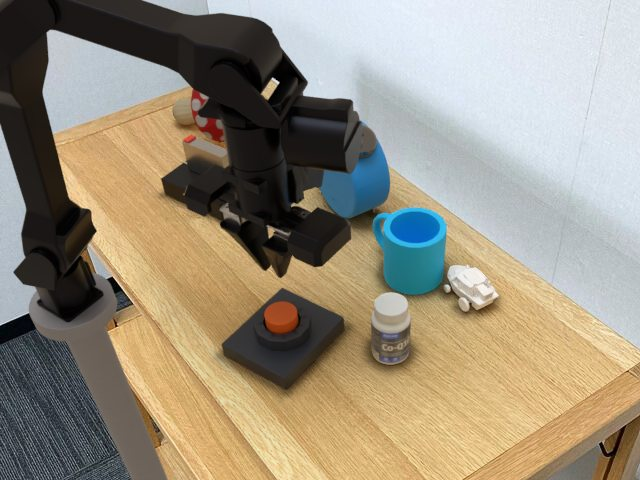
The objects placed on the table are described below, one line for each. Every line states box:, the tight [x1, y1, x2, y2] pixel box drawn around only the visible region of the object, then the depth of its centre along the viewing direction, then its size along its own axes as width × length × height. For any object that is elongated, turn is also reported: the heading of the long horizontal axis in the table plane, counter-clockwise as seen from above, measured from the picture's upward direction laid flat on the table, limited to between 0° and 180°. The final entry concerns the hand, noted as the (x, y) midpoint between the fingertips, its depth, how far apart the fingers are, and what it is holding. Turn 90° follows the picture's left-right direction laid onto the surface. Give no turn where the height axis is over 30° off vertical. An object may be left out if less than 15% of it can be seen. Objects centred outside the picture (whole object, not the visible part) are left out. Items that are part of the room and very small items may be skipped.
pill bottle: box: [370, 291, 412, 366], centre depth 91 cm, size 5×5×8 cm
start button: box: [264, 301, 298, 334], centre depth 92 cm, size 4×4×2 cm
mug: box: [371, 206, 448, 296], centre depth 101 cm, size 12×8×8 cm
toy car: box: [443, 264, 500, 313], centre depth 98 cm, size 5×8×4 cm, turn 31°
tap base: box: [160, 160, 224, 221], centre depth 116 cm, size 12×12×3 cm
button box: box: [221, 287, 346, 391], centre depth 94 cm, size 12×10×4 cm
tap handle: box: [181, 134, 229, 175], centre depth 113 cm, size 8×2×5 cm, turn 55°
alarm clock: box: [318, 120, 391, 219], centre depth 108 cm, size 13×6×15 cm, turn 32°
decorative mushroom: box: [171, 88, 225, 143], centre depth 126 cm, size 11×11×15 cm
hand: (274, 271), depth 86 cm, fingers closed
